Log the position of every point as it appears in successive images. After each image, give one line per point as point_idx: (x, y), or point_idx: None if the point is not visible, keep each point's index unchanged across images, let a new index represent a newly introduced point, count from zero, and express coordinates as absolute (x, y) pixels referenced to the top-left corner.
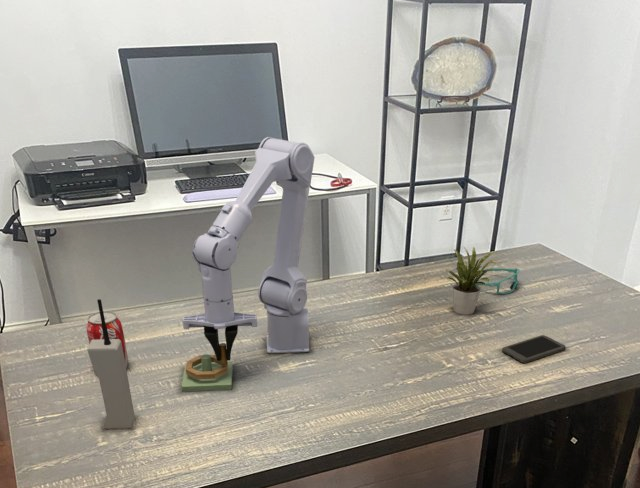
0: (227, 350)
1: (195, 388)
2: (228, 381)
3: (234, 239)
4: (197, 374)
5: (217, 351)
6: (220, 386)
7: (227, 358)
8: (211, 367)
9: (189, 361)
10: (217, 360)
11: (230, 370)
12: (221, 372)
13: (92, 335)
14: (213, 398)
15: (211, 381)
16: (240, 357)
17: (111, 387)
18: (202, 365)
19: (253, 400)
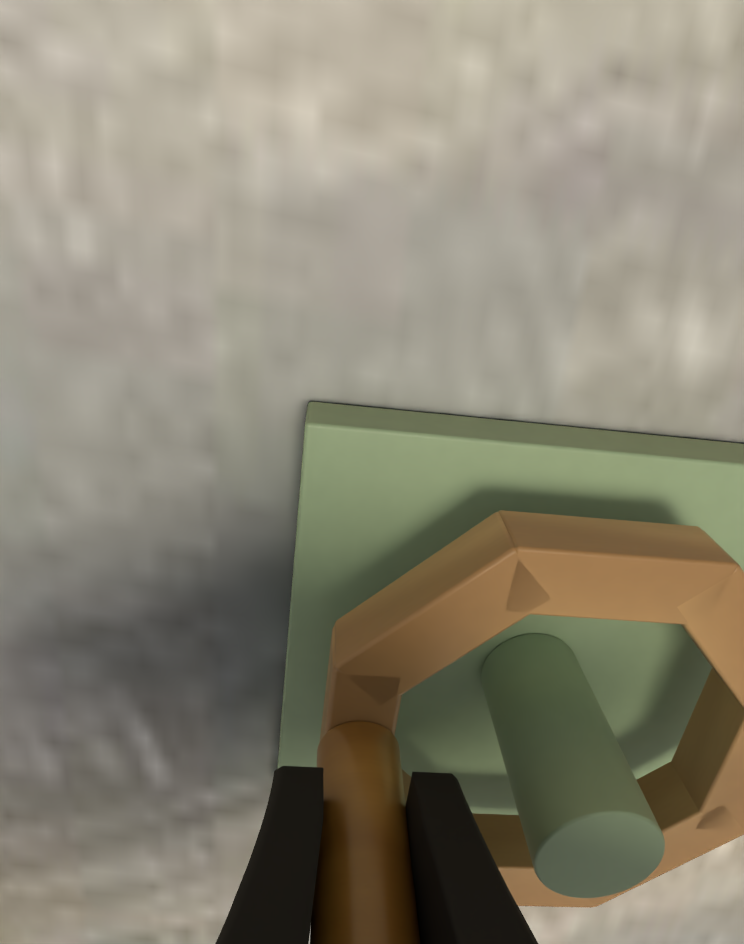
0: (292, 933)
1: (694, 449)
2: (333, 495)
3: None
4: (731, 564)
5: (475, 922)
6: (431, 426)
7: (312, 791)
8: (506, 715)
9: (725, 824)
10: (453, 776)
11: (298, 694)
12: (409, 596)
13: None
14: (530, 244)
15: None
16: (211, 880)
17: None
18: (616, 741)
19: (36, 78)
